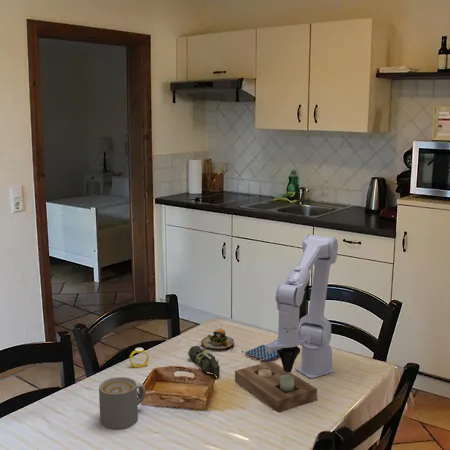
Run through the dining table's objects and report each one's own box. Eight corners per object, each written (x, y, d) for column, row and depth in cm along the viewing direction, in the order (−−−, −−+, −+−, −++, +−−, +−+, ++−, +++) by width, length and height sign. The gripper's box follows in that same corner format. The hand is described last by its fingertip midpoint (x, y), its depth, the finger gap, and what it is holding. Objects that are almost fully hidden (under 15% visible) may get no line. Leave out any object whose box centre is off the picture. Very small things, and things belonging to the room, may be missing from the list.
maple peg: (266, 378, 177) (266, 367, 177) (273, 383, 174) (274, 372, 173) (255, 381, 175) (255, 370, 174) (263, 386, 172) (263, 375, 171)
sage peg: (288, 384, 167) (288, 373, 167) (296, 390, 164) (297, 378, 163) (277, 388, 165) (277, 376, 165) (285, 393, 162) (285, 382, 161)
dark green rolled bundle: (200, 356, 195) (224, 377, 179) (187, 359, 192) (209, 381, 177) (200, 339, 193) (224, 359, 178) (186, 341, 191) (209, 362, 175)
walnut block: (271, 371, 183) (271, 360, 182) (316, 399, 165) (317, 388, 164) (234, 381, 176) (234, 370, 175) (277, 412, 158) (277, 400, 157)
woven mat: (262, 348, 202) (262, 343, 202) (286, 357, 195) (286, 351, 195) (242, 357, 195) (242, 351, 195) (266, 366, 188) (266, 360, 187)
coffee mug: (109, 433, 147) (107, 397, 145) (94, 417, 155) (93, 382, 153) (155, 418, 154) (155, 384, 152) (139, 403, 162) (138, 370, 160)
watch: (130, 369, 184) (130, 351, 183) (129, 365, 187) (128, 348, 185) (149, 367, 186) (148, 349, 185) (147, 363, 188) (147, 346, 187)
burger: (194, 345, 204) (194, 325, 203) (218, 337, 212) (218, 317, 211) (216, 355, 196) (216, 335, 194) (241, 346, 203) (241, 326, 202)
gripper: (299, 317, 168) (298, 360, 171) (259, 326, 161) (258, 371, 163) (315, 324, 162) (313, 369, 165) (274, 334, 155) (273, 381, 157)
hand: (287, 371), depth 164 cm, fingers closed
